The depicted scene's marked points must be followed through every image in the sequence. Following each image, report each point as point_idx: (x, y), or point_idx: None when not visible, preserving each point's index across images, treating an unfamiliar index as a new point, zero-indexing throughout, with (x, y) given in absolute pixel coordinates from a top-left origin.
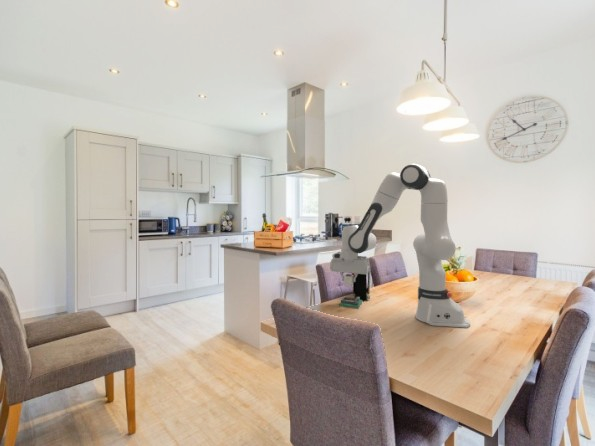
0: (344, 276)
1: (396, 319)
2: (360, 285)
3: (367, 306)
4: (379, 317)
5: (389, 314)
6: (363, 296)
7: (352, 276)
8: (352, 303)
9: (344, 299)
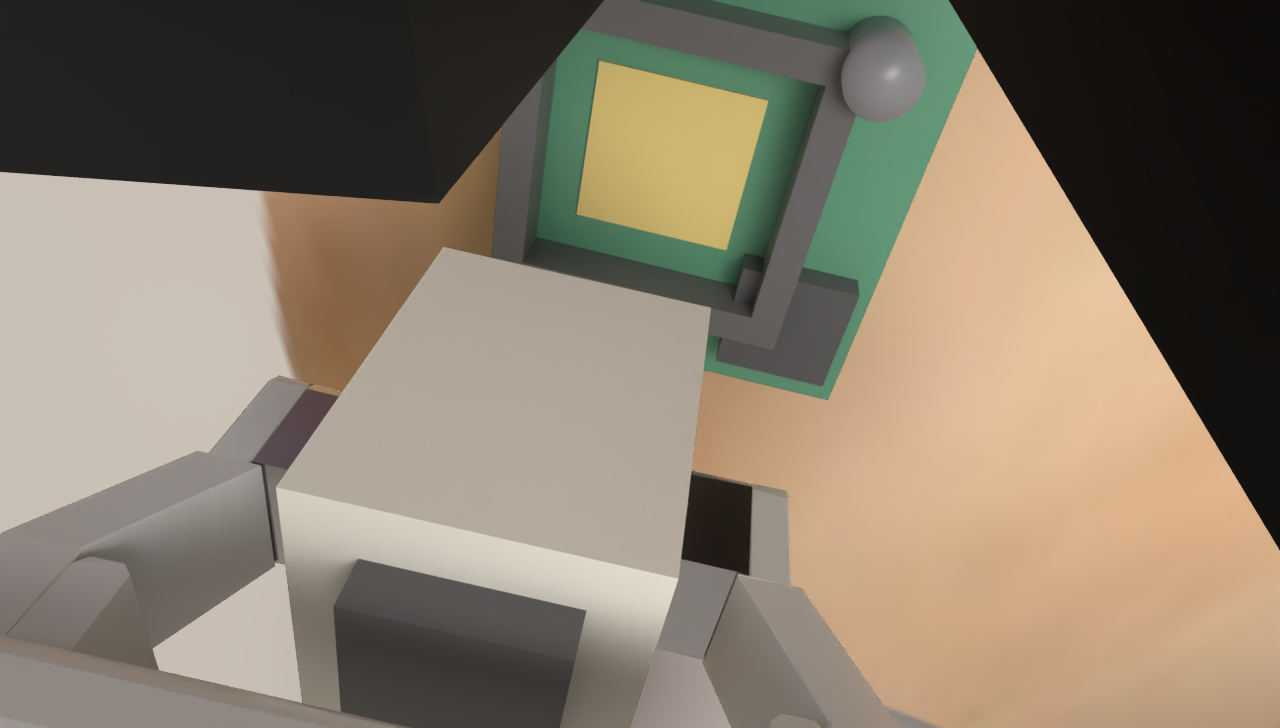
0: (324, 693)
1: (1260, 689)
2: None
3: (1031, 243)
4: (1054, 642)
5: (1266, 562)
6: None
7: (643, 677)
8: (723, 362)
9: (550, 71)
